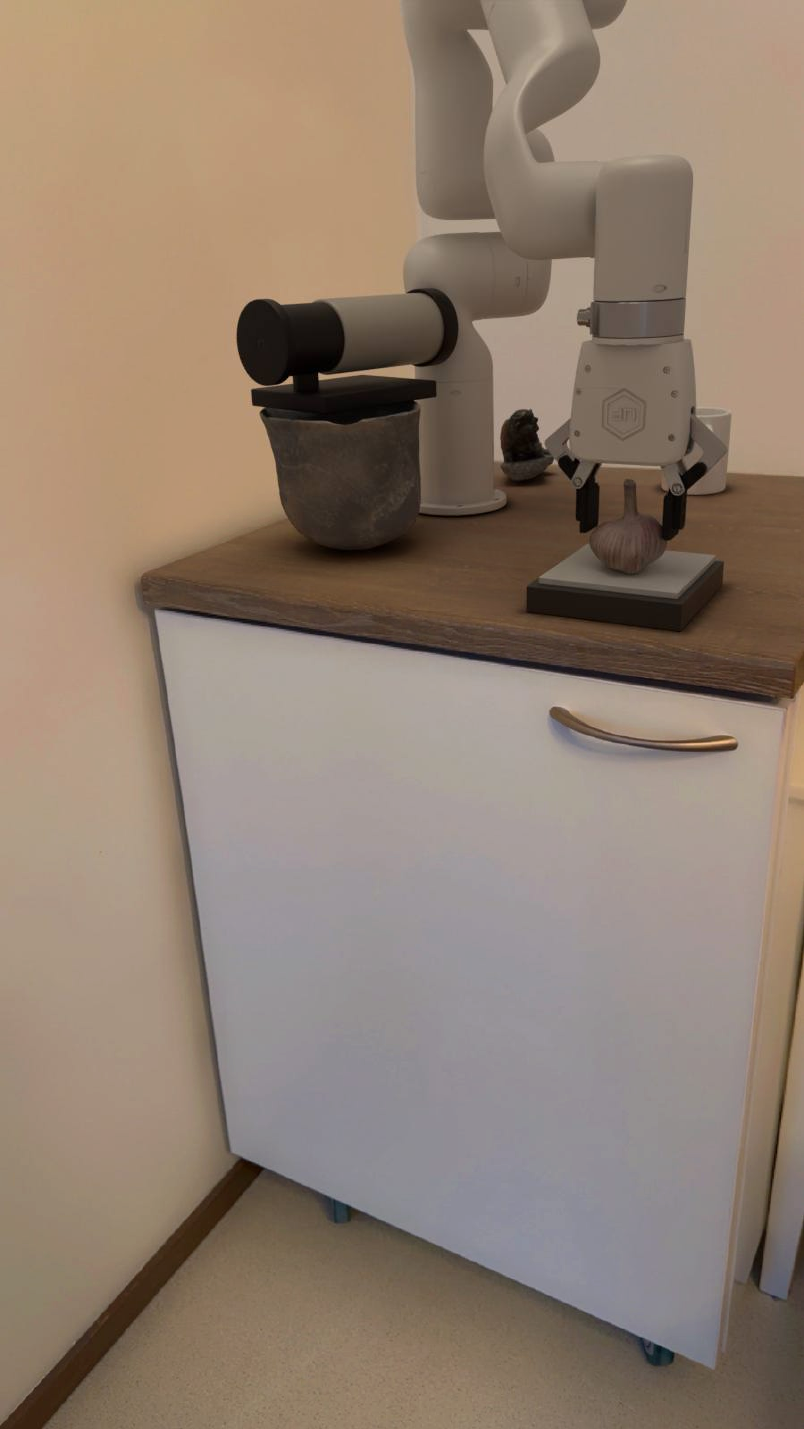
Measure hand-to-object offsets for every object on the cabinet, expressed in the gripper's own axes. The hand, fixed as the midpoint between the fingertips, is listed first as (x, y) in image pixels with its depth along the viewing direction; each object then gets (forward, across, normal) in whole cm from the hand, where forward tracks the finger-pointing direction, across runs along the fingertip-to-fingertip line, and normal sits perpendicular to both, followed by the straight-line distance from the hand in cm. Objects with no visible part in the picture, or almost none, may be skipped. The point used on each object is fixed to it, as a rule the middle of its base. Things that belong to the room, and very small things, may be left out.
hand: (629, 531), depth 96 cm
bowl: (+6, -35, +7) cm, 36 cm away
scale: (+6, 0, 0) cm, 6 cm away
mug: (+6, -6, +46) cm, 47 cm away
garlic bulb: (+3, 0, 0) cm, 3 cm away
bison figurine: (+7, -30, +47) cm, 56 cm away
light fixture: (-15, -38, -1) cm, 41 cm away
